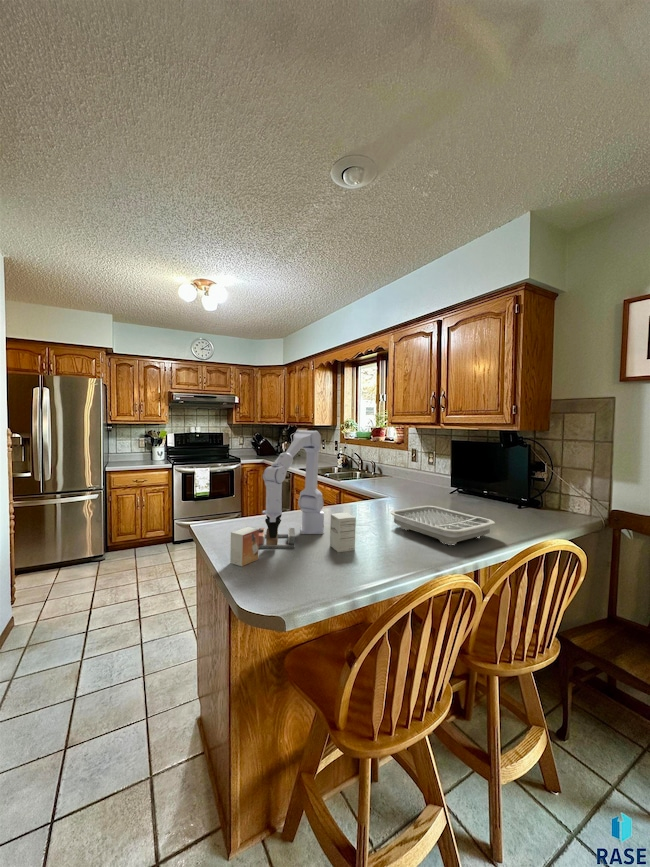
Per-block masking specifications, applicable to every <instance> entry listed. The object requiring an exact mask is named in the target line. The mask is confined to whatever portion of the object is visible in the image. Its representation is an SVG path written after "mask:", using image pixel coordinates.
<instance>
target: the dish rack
mask: <svg viewBox="0 0 650 867" xmlns="http://www.w3.org/2000/svg"><path fill="white" fill-rule="evenodd" d="M390 515H392V516H393V523H394V524H396V525H397V526H399V527H400V529H401V530H404V529H405V530H404V531H407V530H408V531H409V530H411V531H415V532H417V533H419V534H423V535H426V536H429V537H432V538H433V539H438V540H439V542H440V543H441V542H443V543H446V544H449V545H452V544H456V545H457V543H458V542H462V541H466V540H469V539H474V538H476V537H479V536H481V537H482V536H485V535H488V534H490V532H491V530H490V529H491V526H494V525H495V524H496V522H495V521H494V520H492V519H490V518H485V517H481V516H476V515H472V514H468V513H464V512H461V511H456V510H451V509H447V508H444V507H440V506H435V505H420V506H413V507H407V508H400V509H396V510H395V509H394V510H391V511H390Z"/></svg>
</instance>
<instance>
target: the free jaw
mask: <svg viewBox="0 0 650 867" xmlns="http://www.w3.org/2000/svg"><path fill="white" fill-rule="evenodd" d="M258 529H259V545H265V542H266V538H265V534H266V531H267V528H265V527H258Z"/></svg>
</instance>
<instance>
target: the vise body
mask: <svg viewBox="0 0 650 867" xmlns="http://www.w3.org/2000/svg"><path fill="white" fill-rule="evenodd" d="M295 534H296V532H295V527H290V528H289V529H288V531H287V533H280V534H279V533H278V538H288V540H287V544H277V545H269V546H266V544H264V545H259V548H258V550H259V549H295V548H296V546H295V545H296V544H295V542H296V540H295V539H296V536H295ZM265 539H266V533H265Z"/></svg>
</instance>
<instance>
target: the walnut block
mask: <svg viewBox="0 0 650 867" xmlns="http://www.w3.org/2000/svg"><path fill="white" fill-rule="evenodd" d="M278 532H279V529H278V530H277V536H276V538H270V536H269V530H268V527H267V528H266V530H265V534H266V538H265V545H266V546H269V545H278V542H279V537H278V534H279V533H278Z"/></svg>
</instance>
